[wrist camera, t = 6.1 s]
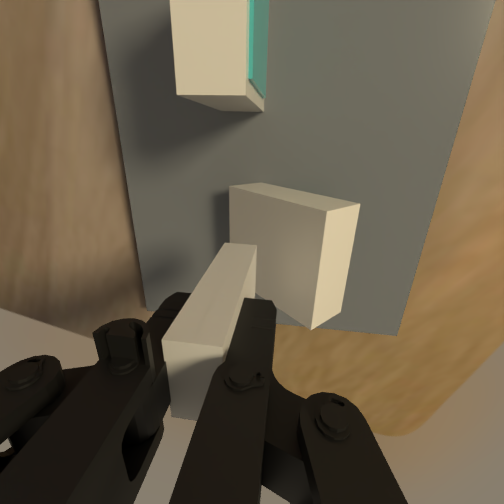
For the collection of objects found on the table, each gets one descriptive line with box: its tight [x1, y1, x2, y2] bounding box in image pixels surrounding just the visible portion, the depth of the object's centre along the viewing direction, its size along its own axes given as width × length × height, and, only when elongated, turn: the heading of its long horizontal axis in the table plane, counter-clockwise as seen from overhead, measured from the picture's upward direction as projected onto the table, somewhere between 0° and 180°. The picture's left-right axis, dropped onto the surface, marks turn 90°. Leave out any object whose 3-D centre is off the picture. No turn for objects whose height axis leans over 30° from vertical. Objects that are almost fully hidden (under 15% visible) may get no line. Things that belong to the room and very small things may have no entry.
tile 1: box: [170, 0, 269, 112], centre depth 12 cm, size 6×3×7 cm, turn 179°
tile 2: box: [229, 182, 360, 330], centre depth 15 cm, size 6×3×7 cm
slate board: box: [98, 0, 496, 336], centre depth 17 cm, size 24×20×1 cm
